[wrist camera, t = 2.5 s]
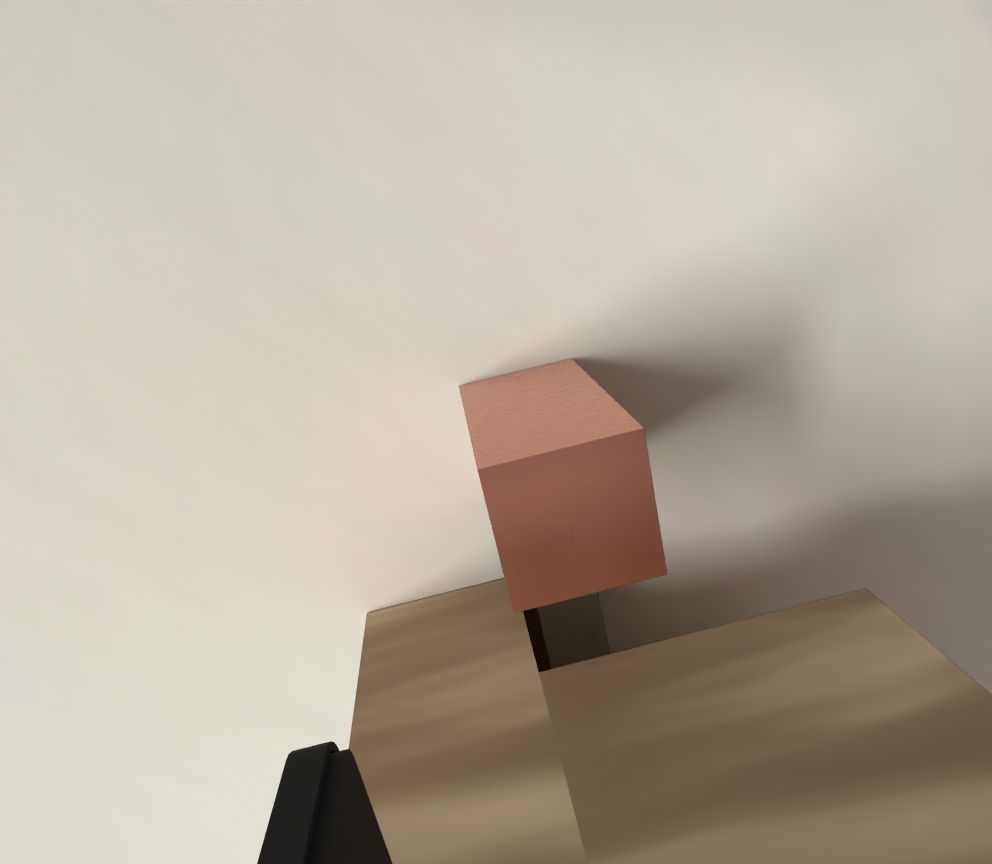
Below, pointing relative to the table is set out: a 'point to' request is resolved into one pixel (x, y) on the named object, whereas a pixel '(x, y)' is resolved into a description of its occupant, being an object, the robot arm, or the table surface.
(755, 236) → the table surface
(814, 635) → the oak bench cabinet
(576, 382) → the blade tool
